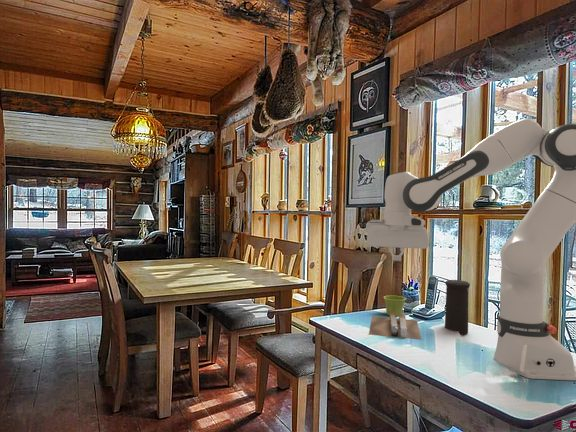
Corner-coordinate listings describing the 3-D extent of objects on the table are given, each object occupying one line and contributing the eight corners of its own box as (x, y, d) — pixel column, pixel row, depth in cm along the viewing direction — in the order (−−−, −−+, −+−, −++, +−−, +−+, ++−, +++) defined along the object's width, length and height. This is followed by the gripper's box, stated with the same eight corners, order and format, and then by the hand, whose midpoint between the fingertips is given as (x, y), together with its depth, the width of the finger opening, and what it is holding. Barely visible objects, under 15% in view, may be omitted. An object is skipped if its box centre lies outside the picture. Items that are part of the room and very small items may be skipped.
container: (473, 333, 146) (474, 281, 146) (460, 337, 141) (461, 283, 141) (452, 327, 153) (453, 277, 153) (439, 331, 148) (440, 279, 148)
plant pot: (380, 318, 165) (380, 298, 165) (386, 313, 173) (386, 294, 173) (402, 321, 160) (402, 301, 160) (407, 316, 168) (407, 297, 168)
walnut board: (416, 324, 157) (416, 320, 157) (421, 343, 133) (421, 339, 133) (372, 320, 162) (372, 316, 162) (368, 338, 138) (368, 334, 138)
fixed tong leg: (405, 321, 155) (405, 313, 155) (407, 337, 134) (407, 328, 134) (398, 320, 156) (399, 312, 156) (400, 337, 135) (400, 328, 135)
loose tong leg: (395, 319, 156) (395, 313, 156) (398, 336, 135) (398, 328, 135) (389, 319, 157) (389, 312, 157) (391, 335, 136) (391, 327, 136)
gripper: (365, 219, 129) (364, 260, 129) (429, 220, 124) (428, 263, 124) (366, 219, 135) (365, 258, 136) (428, 220, 130) (427, 261, 130)
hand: (396, 260), depth 130 cm, fingers closed
